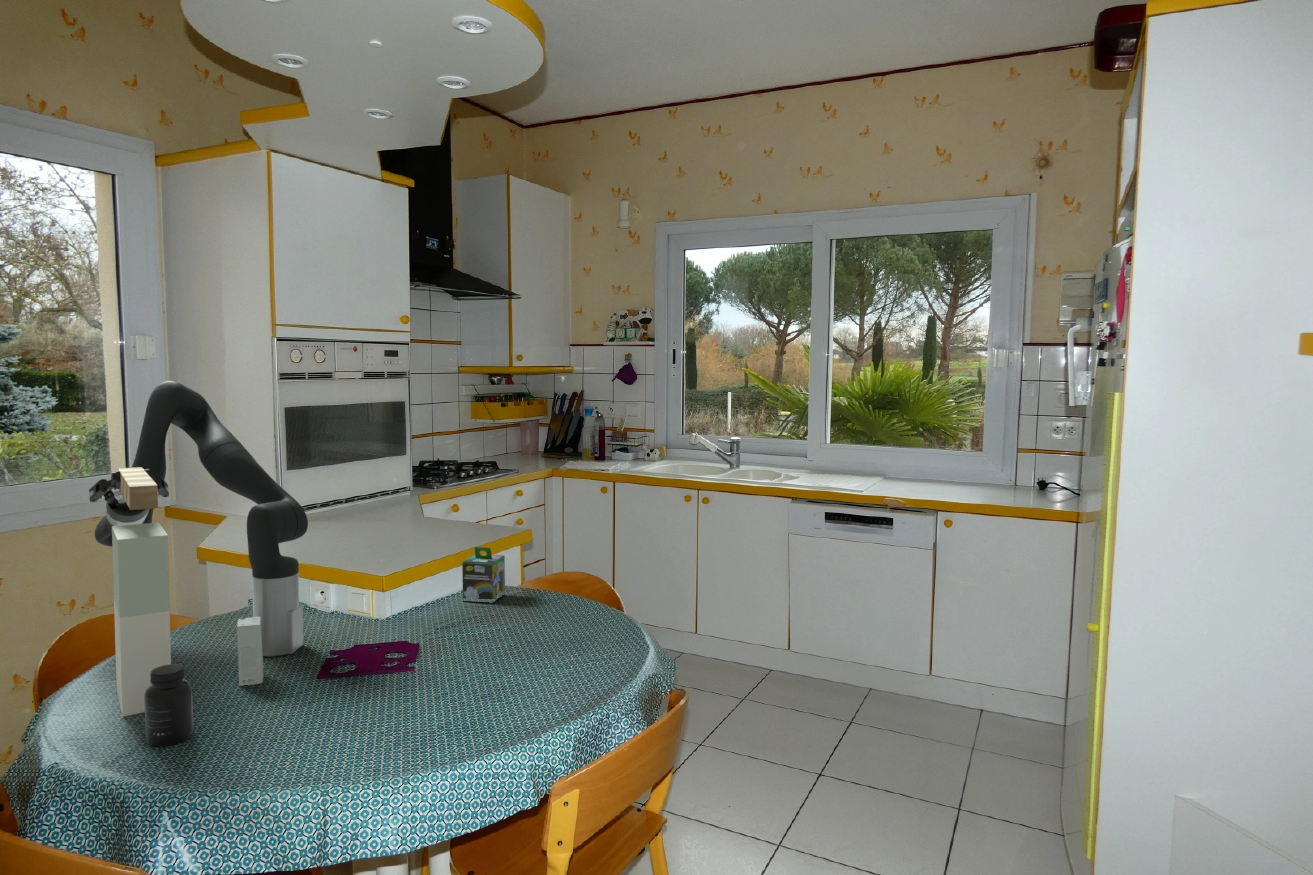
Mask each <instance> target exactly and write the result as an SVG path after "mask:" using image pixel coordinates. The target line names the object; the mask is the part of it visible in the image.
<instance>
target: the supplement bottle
mask: <svg viewBox="0 0 1313 875" xmlns="http://www.w3.org/2000/svg"><path fill="white" fill-rule="evenodd" d="M150 677H151V679H150V683H151V684H152V685H151V686H150V687H148V688H147V690H146V691H145V694H144V706H145V712H144V723H145V724H144V726H145V740H146V743H147V744H148V745H150V746H153V747H168V746H173V745H177V744H179V743H182V742H184V741H186V740H187V739H189V738H191V736H192V735H193V732H194V711H193V710H194V707H193V687H192V684H191V683H190V682H189V681H188V680H187V679H185V678H186V674H185V667H184V665H182V664H180V663H179V664H177V663H174V664H172V663H171V664H170V665H164V666H161V667H158V668H155V669H153V670H152V671H151V673H150Z"/></svg>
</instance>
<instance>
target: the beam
mask: <svg viewBox="0 0 1313 875" xmlns="http://www.w3.org/2000/svg"><path fill="white" fill-rule="evenodd" d="M117 471H120V478H121V482H120V488H119V490H120V492H121V494H122V496H123V498H124V499H125V501H126V503H127V505H128V507H129V508H130V510H138V509H152V508H154V509H159V499H158V498H159V495H158V487H157V484H156V483H155V482H154V481H153V480H152V478H151V477H150V476H149V475H148V474H147V473H146V471H144V469H143V468H142V467H136V468H132V467H119V468H117Z"/></svg>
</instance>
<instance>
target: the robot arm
mask: <svg viewBox="0 0 1313 875" xmlns="http://www.w3.org/2000/svg"><path fill="white" fill-rule="evenodd" d="M171 424H172V425H174V426H176V427H177V428H179V429H181V430H182V431H183V432H185V433H186V435H188V436H189V437H190V439H192V441H194V443H195V444H196V446H197V450H198V451H197V452H198V458H199V461H200V463H201V465H202V466H203V468H204V469H205V470H206V471H207V472H208V474H209V475H210V476H211V477H212V479H214V480H215V482H216V483H217V484H219V485H220V486H222V488H225V489H227V490H228V491H231V492H232V493H235V494H237V495H239V496H241V497H244V498H245V499H248V500H250V501H252V502H254V503H255V504H256V505H253V506H252V507H251V508H250V510H249V512H248V514H247V519H246V538H247V549H248V550H247V551H248V560H249V564H250V566H251V573H252V576H251V577H252V578H251V579H252V617H261V633H262V654H263V657H277V656H284V655H292V654H295V652H297V650H298V649H300V648H301V647H302V646H304V632H303V631H304V612H303V611H304V610H303V607H304V606H303V604H302V603H300V588H299V587H300V582H299V580H300V574H299V570H300V569H299V568H300V567H299V564H300V563H299V560H298V559H297V558H295V557H293V556H287V555H282V554H281V552H280V551H281V550H280V546H279V545H280V544H281V543H282V544H283V543H287V542H290V541H295V540H298V539H299V538H302V537H303V536H305V534H306V533H307V531H308V526H309V521H308V515H307V514H306V511H305V510H304V508H303V507H302V505H301V504H300V502H298V501H297V500H296V498H294V497H293V496H292V495H291V494H289V492H288V491H286V490H285V489H284V488H283V487H281V486H280V484H278V483H277V482H276V480H274V479H273V478H272V477H271V476H270V475H269V473H268V472H266V471H265V470H264V468H263V467H262V466H261V465H260V463H258V462H257V460H256V459H255V458H254V456H253V455H252V454H251V453H250V452H249V451H248V450H247V449H246V448H245V446H244V445H243V444H242V443H241V442H240V441H239V440H238V439H237V438H236V437H235V435H234V434H233V433H232V432H231V431H230V430H229V429H228V428H226V427H225V426H224V425H223V423H221V421H220V420H219V418H218V417H217V415H216V413H215V412H214V411H213V409H212V407H211V406H210V404H209V403H208V402H207V400H206V399H205V397H204V396H203V395H202V394H201V393H199V392H197V391H195V390H194V389H192V388H190V387H188V386H186V385H184V384H182V383H181V382H178V381H174V380H166V381H163V382H161V383H159V384H158V385H156V387H154V389H153V390H152V392H151V393H150V396H149V398H148V401H147V405H146V409H145V413H144V417H143V422H142V426H141V431H140V436H139V440H138V445H137V448H136V453H135V457H134V459H133V463H132V465H131V468H136V467H142V468H143V469H144V471H146V473H147V474H148V475H149V476H150V477H151V478H152V480H153V481H154V482H155V483H156V484H157V487H158V497H159V496H161V497H162V498H168V497H169V496H170V491H169V484H168V482H166V481H165V479H166V474H167V459H166V442H167V440H166V439H167V434H168V430H169V428H170V426H171ZM120 482H121V478H120V471H118V470H116V471H115V473H112V474H111V476H110V479H109V480H108V479H106V478H102V479H99V480H98V481H97V482H96V483H95V484H94V485H93V486H92V487H90V488H89V489H88V494H89V502H90V503H95V502H98V501H100V500H103V499H104V501H105V502H106V504H105V515H104V516H103V517H102V518H101V519H100V520H99V521H98V523H97V525H96V528H95V529H94V538H95V541H96V542H97V543H98V544H100V545H102V546H105V547H106V546H107V547H111V548H112V526H122V525H134V524H146V523H153V514H154V509H155V508H152V509H138V510H130V508H129V507H128V505H127V503H126V501H125V499H124V498H123V496H122V494H121V492H120V490H119V488H120Z"/></svg>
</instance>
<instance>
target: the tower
mask: <svg viewBox="0 0 1313 875" xmlns="http://www.w3.org/2000/svg"><path fill="white" fill-rule="evenodd" d="M111 548H112V571H113V572H112V576H113V578H112V579H113V605H114V606H113V607H114V608H113V610H114V611H113V612H114V645H115V646H114V647H115V675H116V676H115V677H116V678H115V681H116V693H117V697H118V702H119V707H120V711H121V716H122V717H129V716H133V715H137V714H141V713H145V706H144V694H145V691H146V690H147V688H148V687H150V686H151V685H152V684H151V683H150V679H151V677H150V673H151V671H152V670H153V669H155V668H158V667H161V666H164V665H170V664H172V656H171V655H172V654H171V652H172V649H171V648H172V647H171V610H170V609H171V607H170V573H169V572H170V571H169V570H170V568H169V565H170V564H169V535H168V533H167V532H166V531H165V529H164V528H163V527H162V525H161V523H160V522H158V521H157V522H152V523H146V524H134V525H122V526H112V547H111Z"/></svg>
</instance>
